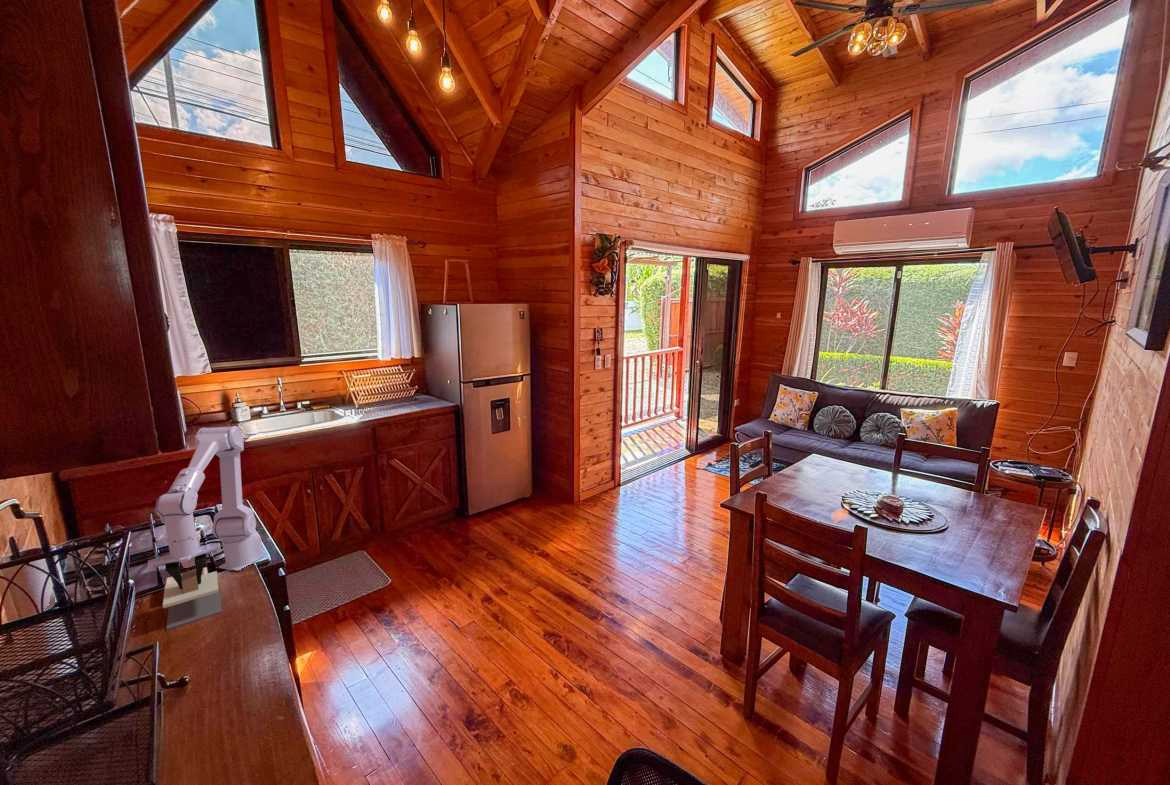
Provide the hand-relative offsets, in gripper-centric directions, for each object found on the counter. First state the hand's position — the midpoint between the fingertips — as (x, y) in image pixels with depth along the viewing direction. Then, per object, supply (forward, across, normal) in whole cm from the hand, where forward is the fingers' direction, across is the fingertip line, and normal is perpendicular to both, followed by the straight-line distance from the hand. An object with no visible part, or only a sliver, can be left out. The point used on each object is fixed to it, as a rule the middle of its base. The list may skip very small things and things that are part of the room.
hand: (190, 584), depth 127 cm
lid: (+2, 0, 0) cm, 2 cm away
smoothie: (+7, -1, +28) cm, 29 cm away
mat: (+7, 0, 0) cm, 7 cm away
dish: (+7, -1, +12) cm, 14 cm away
